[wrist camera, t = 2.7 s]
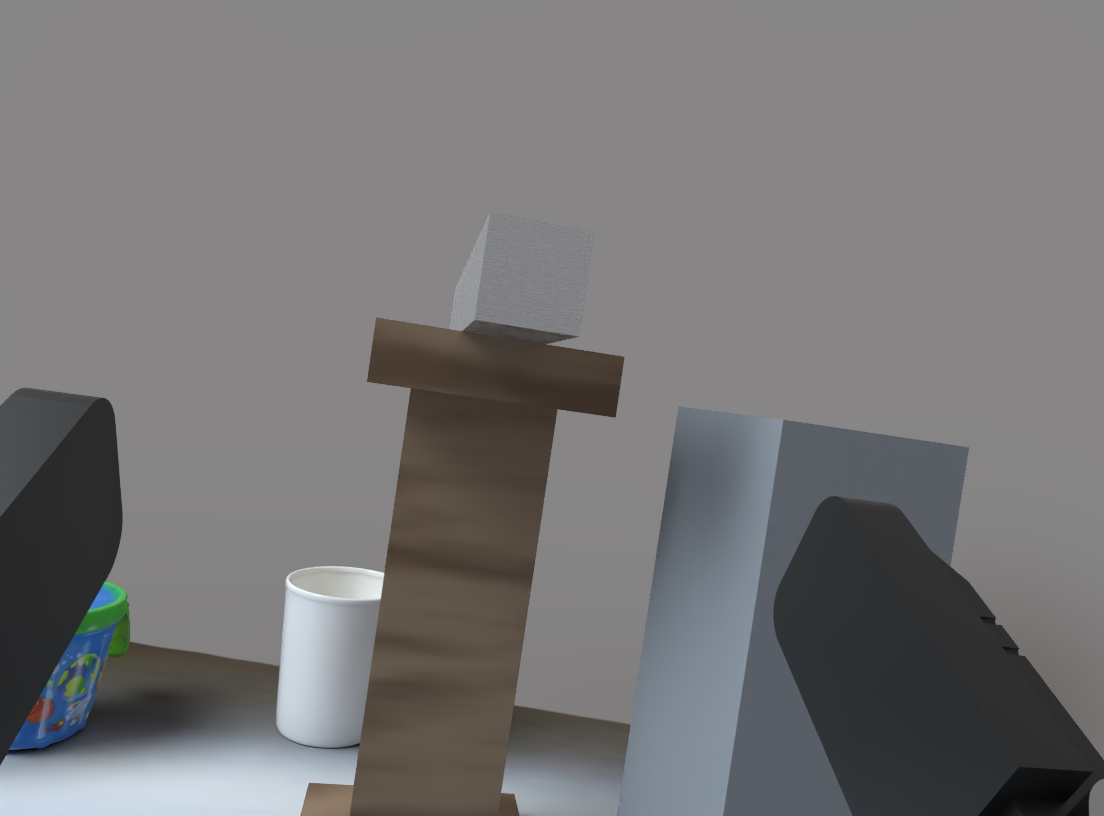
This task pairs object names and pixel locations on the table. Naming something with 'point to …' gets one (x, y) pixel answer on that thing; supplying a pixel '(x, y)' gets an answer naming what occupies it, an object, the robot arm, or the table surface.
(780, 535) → the slate plinth
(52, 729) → the snack cup
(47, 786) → the table surface
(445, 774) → the walnut pedestal
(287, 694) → the candle holder
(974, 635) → the robot arm
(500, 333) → the aluminium bar
